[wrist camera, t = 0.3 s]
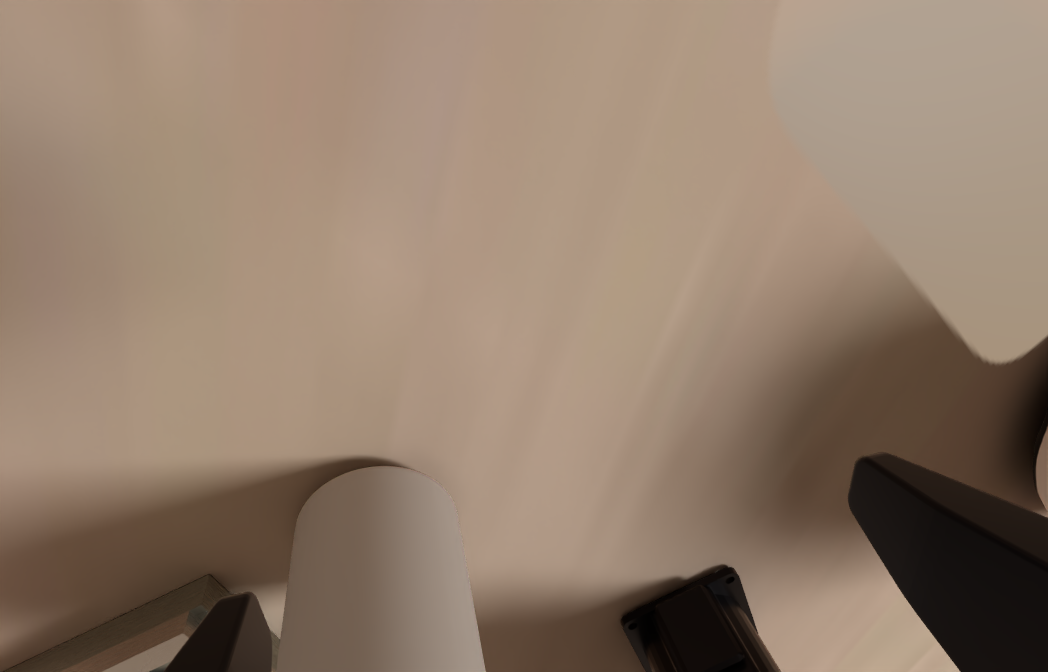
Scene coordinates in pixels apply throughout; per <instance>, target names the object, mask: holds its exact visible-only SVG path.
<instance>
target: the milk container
mask: <svg viewBox="0 0 1048 672" xmlns="http://www.w3.org/2000/svg"><path fill="white" fill-rule="evenodd" d="M1033 474H1034V484H1035V488H1036V490H1037V492H1038V494H1039V496H1040V498H1041V500H1042V502H1043V504H1044V507H1045V508H1046V510H1047V511H1048V409H1047V412H1046V415H1045V419H1044V422H1043V424H1042V427H1041V429H1040V431H1039V433H1038V436H1037V439H1036V441H1035V447H1034V458H1033Z"/></svg>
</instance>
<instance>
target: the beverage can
mask: <svg viewBox="0 0 1048 672" xmlns="http://www.w3.org/2000/svg"><path fill="white" fill-rule="evenodd" d="M276 672H486V670H485V665H484V659H483V654H482V648H481V642H480V637H479V631H478V625H477V620H476V614H475V609H474V603H473V597H472V592H471V586H470V581H469V575H468V569H467V564H466V558H465V553H464V547H463V541H462V536H461V530H460V525H459V519H458V513H457V509H456V506H455V504H454V501H453V499H452V498H451V496H450V495H449V493H448V492H447V491H446V489H445V488H444V487H443V486H442V485H441V484H440V483H438V482H437V481H435V480H434V479H433V478H431V477H429V476H427V475H425V474H423V473H420V472H418V471H415V470H412V469H408V468H403V467H395V466H374V467H367V468H361V469H357V470H353V471H350V472H347V473H345V474H342V475H340V476H338V477H336V478H334V479H332V480H330V481H329V482H327V483H325V484H324V485H322V486H321V487H320V488H319V489H318V490H316V491H315V492H314V493H313V494H312V495H311V496H310V497H309V499H308V500H307V501H306V503H305V504H304V506H303V507H302V509H301V511H300V513H299V515H298V518H297V521H296V526H295V532H294V540H293V547H292V555H291V562H290V570H289V578H288V585H287V593H286V601H285V608H284V616H283V623H282V631H281V639H280V646H279V654H278V661H277V669H276Z"/></svg>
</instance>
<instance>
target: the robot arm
mask: <svg viewBox="0 0 1048 672" xmlns="http://www.w3.org/2000/svg"><path fill="white" fill-rule="evenodd" d="M848 503H849V507H850V509H851V511H852V513H853V515H854V517H855V518H856V520H857V522H858V523H859V525H860V526H861V528H862V530H863V531H864V533H865V534H866V536H867V538H868V539H869V541H870V543H871V544H872V546H873V547H874V549H875V551H876V552H877V554H878V555H879V557H880V559H881V560H882V562H883V563H884V565H885V567H886V568H887V570H888V571H889V573H890V575H891V576H892V578H893V580H894V581H895V583H896V584H897V586H898V587H899V589H900V590H901V592H902V593H903V595H904V597H905V598H906V600H907V601H908V602H909V604H910V605H911V607H912V608H913V609H914V611H915V612H916V613H917V615H918V616H919V617H920V619H921V620H922V621H923V623H924V624H925V625H926V627H927V628H928V629H929V631H930V632H931V633H932V635H933V636H934V637H935V639H936V640H937V641H938V643H939V644H940V645H941V646H942V648H943V649H944V650H945V652H946V653H947V654H948V656H949V657H950V658H951V660H952V661H953V662H954V664H955V665H956V666H957V668H958V669H959V670H960V672H1048V518H1047V517H1045V516H1042V515H1040V514H1037V513H1035V512H1032V511H1030V510H1027V509H1025V508H1023V507H1020V506H1018V505H1015V504H1013V503H1010V502H1008V501H1005V500H1003V499H1000V498H998V497H995V496H993V495H990V494H988V493H985V492H983V491H981V490H978V489H976V488H973V487H971V486H968V485H966V484H963V483H961V482H958V481H956V480H953V479H951V478H948V477H946V476H943V475H941V474H939V473H936V472H934V471H931V470H929V469H926V468H924V467H921V466H919V465H916V464H914V463H911V462H909V461H906V460H904V459H901V458H899V457H897V456H894V455H892V454H889V453H885V452H880V453H875V454H870V455H866V456H862V457H860V458H858V460H857V461H856V462H855V466H854V470H853V475H852V479H851V484H850V488H849V493H848ZM621 625H622V627H623V630H624V632H625V634H626V635H627V637H628V639H629V641H630V643H631V645H632V647H633V649H634V650H635V652H636V654H637V656H638V658H639V660H640V662H641V663H642V665H643V667H644V669H645V671H646V672H781V671H780V669H779V668H778V666H777V664H776V663H775V661H774V659H773V658H772V656H771V655H770V653H769V651H768V650H767V648H766V646H765V645H764V643H763V642H762V640H761V638H760V637H759V635H758V632H757V629H756V626H755V623H754V620H753V617H752V614H751V611H750V608H749V605H748V602H747V599H746V596H745V593H744V590H743V587H742V584H741V581H740V578H739V575H738V574H737V572H736V571H735V569H734V568H732V567H727V568H724V569H722V570H720V571H718V572H716V573H714V574H711V575H709V576H707V577H705V578H703V579H701V580H699V581H697V582H694V583H692V584H690V585H688V586H686V587H684V588H682V589H680V590H678V591H675V592H673V593H671V594H669V595H667V596H665V597H663V598H661V599H659V600H656V601H654V602H652V603H650V604H648V605H646V606H644V607H642V608H640V609H637V610H635V611H633V612H631V613H629V614H627V615H625V616H624V617H623V618H622V619H621ZM163 672H272V637H271V632H270V629H269V627H268V624H267V622H266V619H265V617H264V614H263V612H262V610H261V607H260V605H259V602H258V600H257V598H256V596H255V595H254V594H253V593H252V592H243V593H239V594H234V595H230V596H225V597H222V598H221V599H219V600H218V601H217V602H216V603H215V604H214V606H213V607H212V608H211V610H210V611H209V612H208V614H207V615H206V616H205V617H204V619H203V620H202V621H201V623H200V624H199V625H198V627H197V628H196V629H195V631H194V632H193V633H192V635H191V636H190V637H189V639H188V640H187V641H186V642H185V644H184V645H183V646H182V648H181V649H180V650H179V652H178V653H177V654H176V656H175V657H174V658H173V660H172V661H171V662H170V663H169V665H168V666H167V667H166V669H165V670H164V671H163Z"/></svg>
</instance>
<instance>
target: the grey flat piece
mask: <svg viewBox="0 0 1048 672" xmlns="http://www.w3.org/2000/svg"><path fill="white" fill-rule="evenodd" d="M230 595H231V594H230V593H229V592H228V591H227V590H226V589H225V588H224V587H223V586H221V585H220V584H219V583H218V582H217V581H216V580H215V579H214V578H213V577H212V576H211V575H210V574H209V575H207V576H204V577H202V578H200V579H198V580H196V581H194V582H192V583H190V584H188V585H185V586H183V587H181V588H179V589H177V590H175V591H173V592H171V593H169V594H166V595H164V596H162V597H160V598H158V599H156V600H154V601H152V602H150V603H147V604H145V605H143V606H141V607H139V608H137V609H135V610H133V611H131V612H128V613H126V614H124V615H122V616H120V617H118V618H116V619H114V620H112V621H109V622H107V623H105V624H103V625H101V626H99V627H97V628H95V629H93V630H90V631H88V632H86V633H84V634H82V635H80V636H78V637H76V638H74V639H71V640H69V641H67V642H65V643H63V644H61V645H59V646H57V647H55V648H52V649H50V650H48V651H46V652H44V653H42V654H40V655H38V656H36V657H33V658H31V659H29V660H27V661H25V662H23V663H21V664H19V665H17V666H14V667H12V668H10V669H8V670H6V671H4V672H163V671H164V670H165V669H166V667H167V666H168V665H169V663H170V662H171V661H172V660H173V658H174V657H175V656H176V654H177V653H178V652H179V650H180V649H181V648H182V646H183V645H184V644H185V642H186V641H187V640H188V639H189V637H190V636H191V635H192V633H193V632H194V631H195V629H196V628H197V627H198V625H199V624H200V623H201V621H202V620H203V619H204V617H205V616H206V615H207V614H208V612H209V611H210V610H211V608H212V607H213V606H214V604H215V603H216V602H217V601H218V600H219V599H221V598H222V597H225V596H230ZM270 632H271V631H270ZM271 637H272V672H276V669H277V661H278V654H279V646H280V640H279V639H278V638H277V637H276V636H275V635H274V634H273V633H272V632H271Z"/></svg>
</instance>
